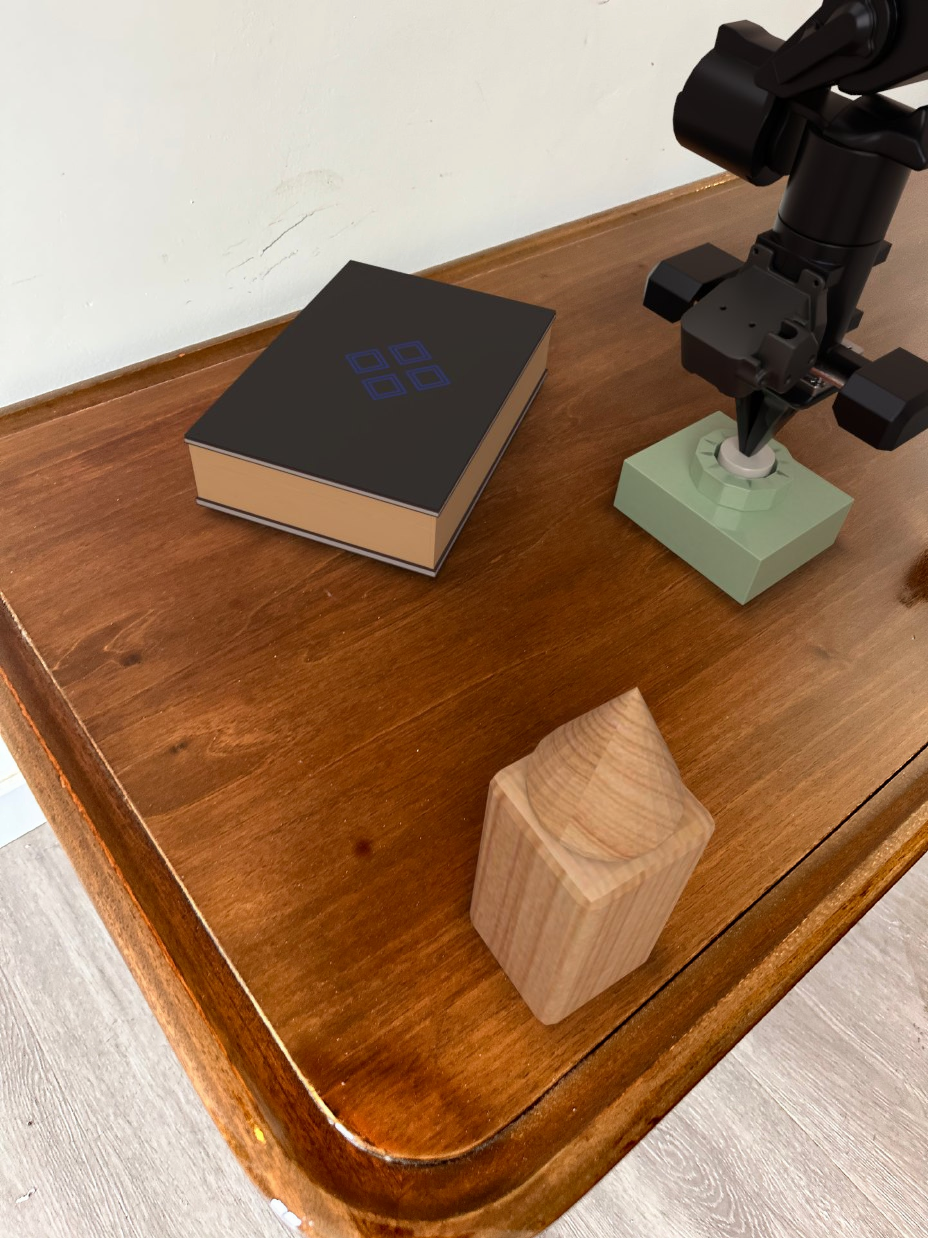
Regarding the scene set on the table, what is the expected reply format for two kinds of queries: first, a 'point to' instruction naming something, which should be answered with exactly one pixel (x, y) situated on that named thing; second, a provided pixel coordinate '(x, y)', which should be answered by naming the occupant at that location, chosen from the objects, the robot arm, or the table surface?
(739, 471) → the beige button cap
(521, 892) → the decorative item
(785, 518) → the button base
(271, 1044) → the table surface
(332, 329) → the book
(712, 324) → the robot arm
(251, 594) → the table surface
